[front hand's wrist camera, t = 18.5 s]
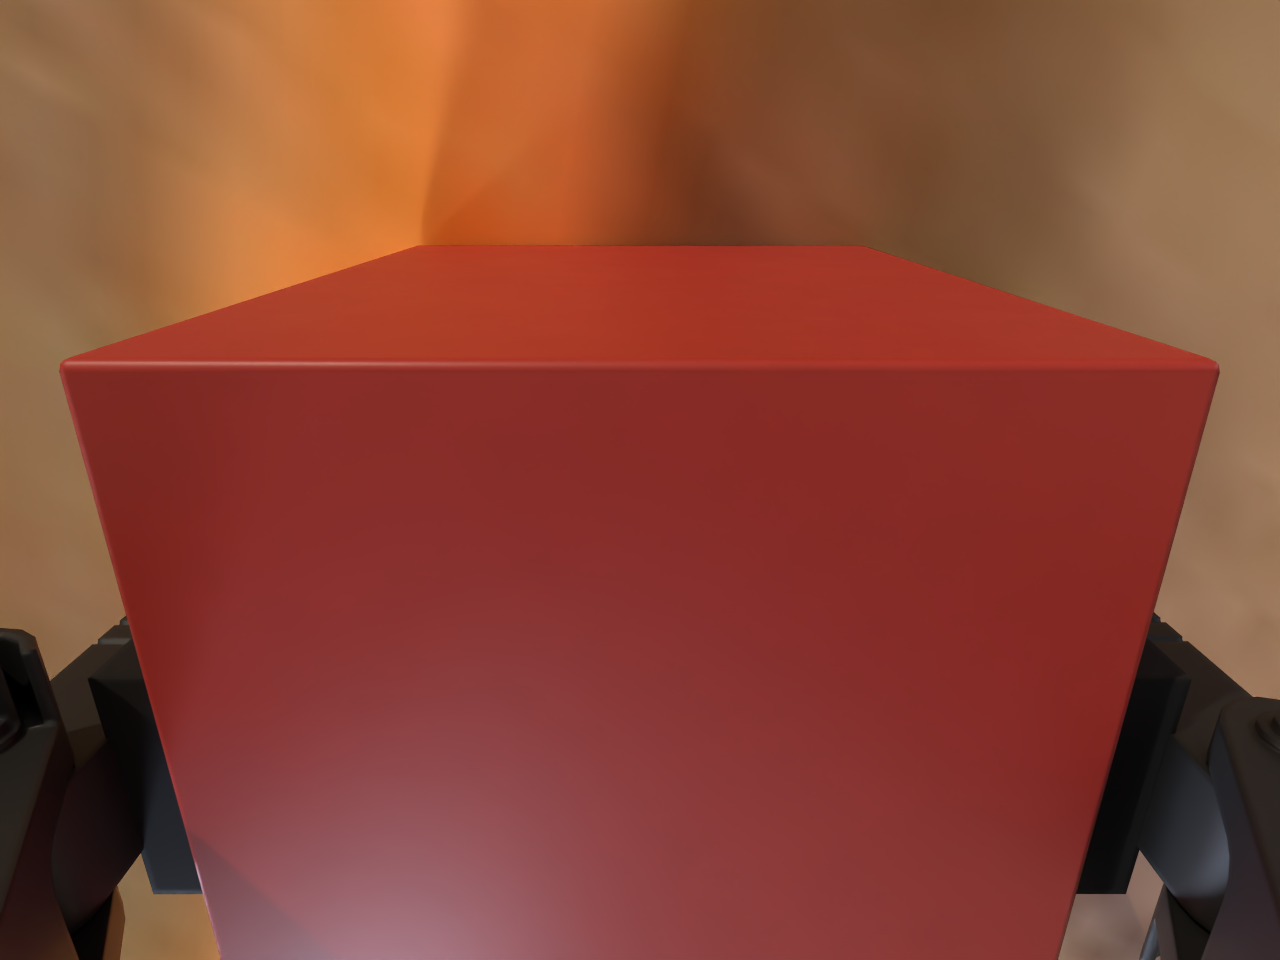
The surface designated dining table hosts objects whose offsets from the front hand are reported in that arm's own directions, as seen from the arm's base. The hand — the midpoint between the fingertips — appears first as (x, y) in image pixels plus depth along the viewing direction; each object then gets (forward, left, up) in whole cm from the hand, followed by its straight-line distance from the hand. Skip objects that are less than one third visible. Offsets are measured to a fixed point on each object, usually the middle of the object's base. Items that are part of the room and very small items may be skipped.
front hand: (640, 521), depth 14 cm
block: (0, 0, -3) cm, 3 cm away
